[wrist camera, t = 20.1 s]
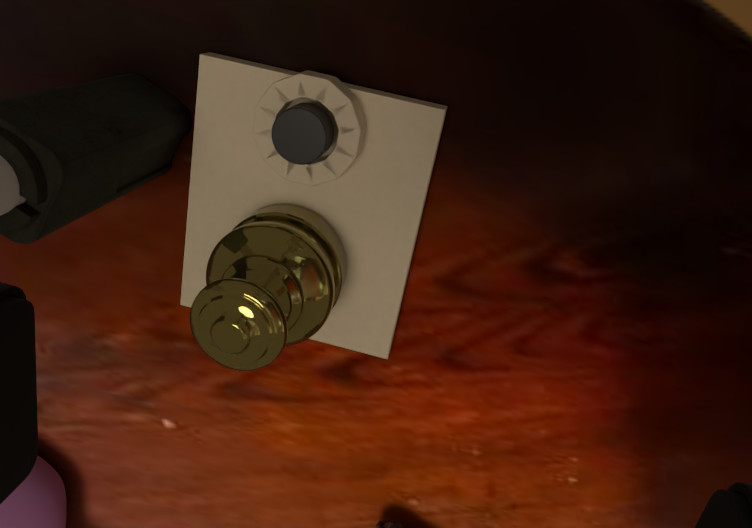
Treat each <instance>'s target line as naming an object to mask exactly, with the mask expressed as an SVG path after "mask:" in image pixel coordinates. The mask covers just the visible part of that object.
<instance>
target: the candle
mask: <svg viewBox="0 0 752 528" xmlns="http://www.w3.org/2000/svg"><path fill="white" fill-rule="evenodd" d="M190 128H191V116H190V114H189V111H188V110H187V109H186V107H185V106H184V105H183V104H182V103H180V102H179V101H177V100H176V99H174V98H173V97H171V96H170V95H169V94H167V93H166V92H164V91H163V90H161V89H160V88H158V87H157V86H155V85H154V84H152V83H151V82H150V81H148V80H147V79H145V78H144V77H142V76H140V75H138V74H135V73H127V74H123V75H118V76H113V77H108V78H103V79H98V80H93V81H89V82H84V83H79V84H74V85H69V86H64V87H60V88H55V89H50V90H45V91H40V92H35V93H30V94H26V95H21V96H16V97H11V98H6V99H1V100H0V233H1V234H2V235H4V236H5V237H7V238H8V239H10V240H12V241H14V242H17V243H21V244H28V243H31V242H34V241H36V240H38V239H40V238H42V237H44V236H46V235H48V234H50V233H51V232H53V231H55V230H57V229H59V228H61V227H63V226H65V225H67V224H69V223H71V222H72V221H74V220H76V219H78V218H80V217H82V216H84V215H86V214H88V213H90V212H92V211H94V210H95V209H97V208H99V207H101V206H103V205H105V204H107V203H109V202H111V201H113V200H115V199H116V198H118V197H120V196H122V195H124V194H126V193H128V192H130V191H132V190H134V189H136V188H137V187H139V186H141V185H143V184H145V183H147V182H149V181H151V180H153V179H155V178H157V177H158V176H160V175H162V174H164V173H166V172H167V171H168V170H169V169H170V168H171V166H172V165H171V163H170V161H171V159H172V157H173V155H174V154H175V152H176V150H177V148H178V146H179V144H180V142H181V140H182V138H183V136H184V134H186V133H188V132H189V131H190Z"/></svg>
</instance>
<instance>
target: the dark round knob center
mask: <svg viewBox="0 0 752 528" xmlns="http://www.w3.org/2000/svg"><path fill="white" fill-rule="evenodd" d="M271 134H272V141H273V145H274V147H275V149H276V150H277V152H278V153H279V155H280V156H281V157H283V158H284V159H285V160H287V161H288V162H291V163H293V164H298V165H305V164H310V163H312V162H314V161H316V160H317V159H318V158H320V157H321V156H322V155H323V154H324V153H325V152H326V151H327V150H328V149H329V148H330V146H331V144H332V142H333V138H334V126H333V123H332V120H331V118H330V117H329V115H328V114H327V113H326V111H325V110H323V109H322V108H321V107H319V106H317V105H315V104H312V103H299V104H296V105H294V106H292V107H290V108H288V109H286V110H285V111H283V112H282V113H280V114H279V115H278V116H277V118H276V119H275V121H274V123H273V126H272V133H271Z"/></svg>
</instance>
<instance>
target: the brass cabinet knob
mask: <svg viewBox="0 0 752 528" xmlns="http://www.w3.org/2000/svg"><path fill="white" fill-rule="evenodd" d="M346 276H347V258H346V253H345V250H344V247H343V244H342V242H341V240H340V238H339V237H338V235H337V234H336V232H335V231H334V229H333V228H332V227H331V226H330V225H329V224H328V223H327V222H326V221H325V220H324V219H322V218H321V217H320V216H318V215H317V214H315V213H313V212H311V211H310V210H307V209H305V208H302V207H299V206H294V205H286V204H279V205H272V206H267V207H264V208H262V209H260V210H258V211H256V212H254V213H253V214H251V215H250V216H249V217H248V218H247V219H245V220H243V221H242V222H240V223H239V224H238V225H237V226H235V227H234V229H233V230H232V231H231V232H229V233H228V234H226V235H225V236H224V237H223V238H222V239H221V240H220V241H219V242H218V243H217V245H216V246H215V247H214V249H213V251H212V253H211V255H210V257H209V260H208V264H207V268H206V286H205V287H204V288H203V289H202V290H201V291H200V292H199V293H198V295H197V296H196V298H195V300H194V302H193V304H192V306H191V310H190V326H191V331H192V334H193V336H194V338H195V340H196V342H197V344H198V345H199V347H200V348H201V349H202V351H203V352H204V353H205V354H206V355H207V356H208V357H210V358H211V359H212V360H213V361H215V362H216V363H218V364H220V365H222V366H224V367H227V368H230V369H233V370H238V371H253V370H258V369H261V368H264V367H266V366H267V365H269V364H270V363H272V362H273V361H274V360H275V359H276V358H277V357H278V356H279V355H280V353H281V352H282V350H283V348H284V346H290V345H294V344H298V343H300V342H303V341H305V340H307V339H308V338H310V337H311V336H313V335H314V334H315V333H317V332H318V331H319V330H320V329H321V327H322V326H323V325H324V324H325V322H326V320H327V319H328V317H329V315H330V312H331V310H332V309H333V307H334V306H335V304H336V302H337V300H338V298H339V295H340V292H341V290H342V288H343V286H344V283H345V280H346Z"/></svg>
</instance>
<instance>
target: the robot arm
mask: <svg viewBox="0 0 752 528" xmlns="http://www.w3.org/2000/svg"><path fill="white" fill-rule="evenodd" d="M37 456H38V430H37V392H36V354H35V317H34V307H33V305H32V303H31V302H29V301H27V300H26V296H25V294H24V292H23V290H21V289H20V288H18V287H16V286H12V285H8V284H5V283H1V282H0V504H1V503H2V502H3V501H4V500H5V499H6V498H7V497H8V496H9V495H10V494H11V493H12V492H13V491H14V490H15V489H16V488H17V487H18V486H19V485H20V484H21V483H22V482H23V481H24V480H25V479H26V478H27V476H28V475H29V474H30V472H31V471H32V469H33V467H34V465H35V462H36V459H37ZM695 528H752V486H751V485H748V484H744V483H735V484H733V485H732V486H730V487H729V489H728V490H727V491H725V490H717V491H716V492H714V494H713V495H712V497H711V498H710V500H709V502H708V504H707V506H706V507H705V509H704V511H703V513H702V515H701V517H700V519H699V521H698V522H697V524H696V526H695Z"/></svg>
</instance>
